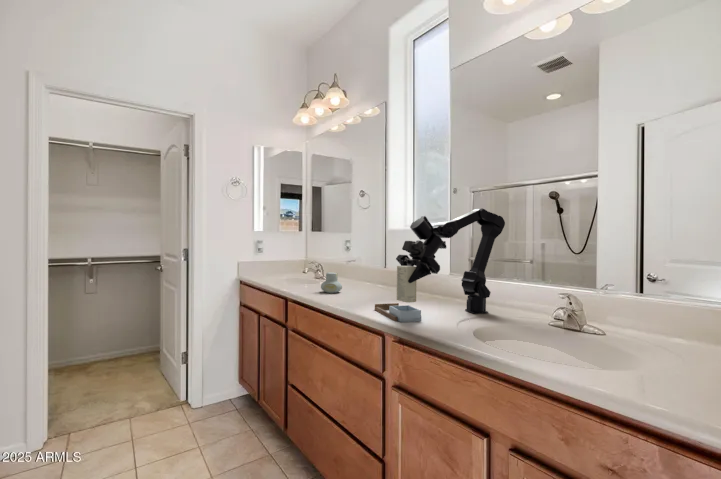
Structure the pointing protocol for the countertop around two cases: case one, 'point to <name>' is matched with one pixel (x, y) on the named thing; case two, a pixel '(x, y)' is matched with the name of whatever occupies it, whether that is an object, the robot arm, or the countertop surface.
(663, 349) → the countertop surface
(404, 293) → the skincare box
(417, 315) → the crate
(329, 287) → the air freshener
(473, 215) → the robot arm
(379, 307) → the bay
